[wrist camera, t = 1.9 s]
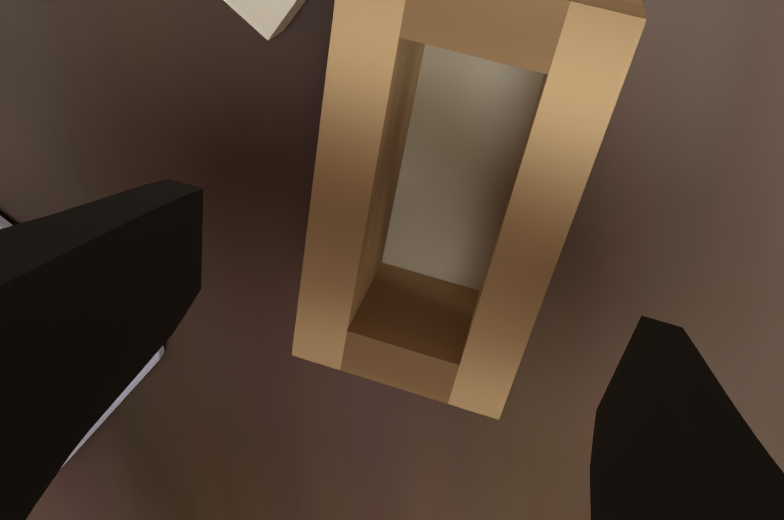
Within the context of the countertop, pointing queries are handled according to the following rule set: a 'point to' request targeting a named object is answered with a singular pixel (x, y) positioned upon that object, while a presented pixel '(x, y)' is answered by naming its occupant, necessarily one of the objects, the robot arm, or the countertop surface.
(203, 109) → the countertop surface
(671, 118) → the countertop surface
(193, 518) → the countertop surface
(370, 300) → the frame
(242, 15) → the cream flat piece
